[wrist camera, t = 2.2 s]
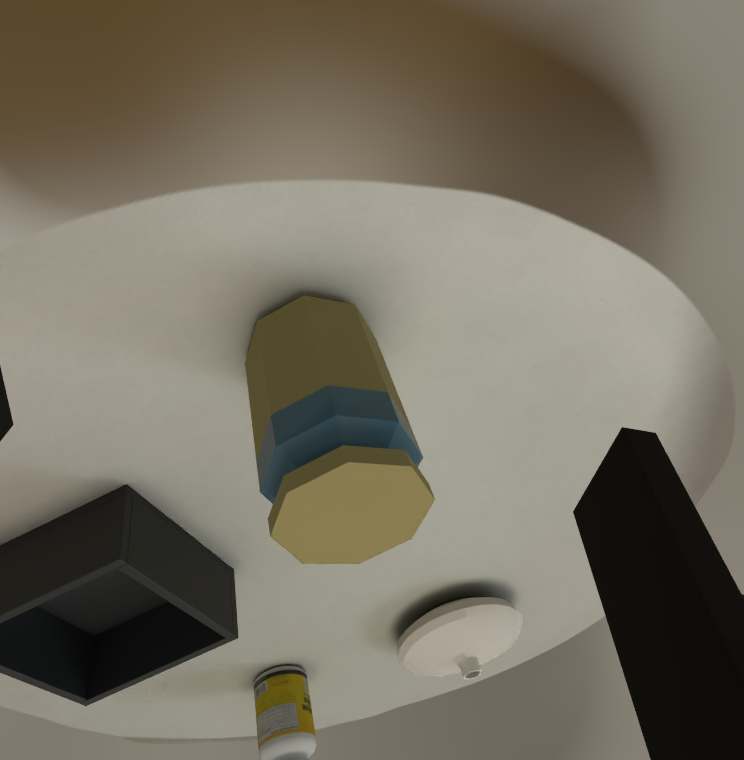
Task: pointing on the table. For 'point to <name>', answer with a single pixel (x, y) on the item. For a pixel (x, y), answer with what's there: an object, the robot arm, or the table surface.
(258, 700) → the pill bottle
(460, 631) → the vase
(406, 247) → the table surface
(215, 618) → the bin
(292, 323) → the jar
